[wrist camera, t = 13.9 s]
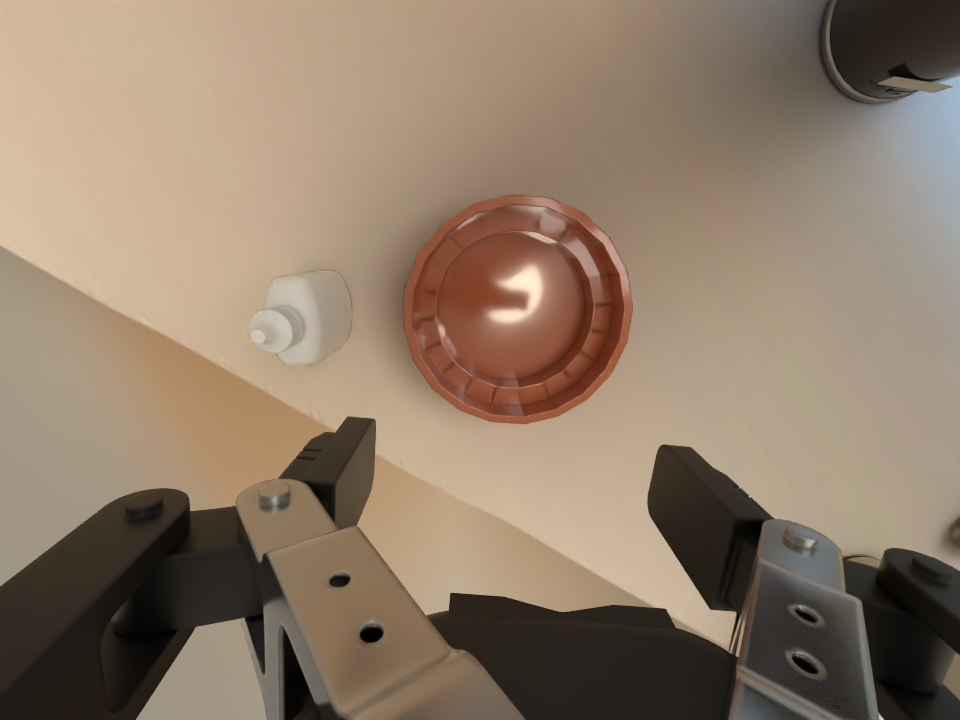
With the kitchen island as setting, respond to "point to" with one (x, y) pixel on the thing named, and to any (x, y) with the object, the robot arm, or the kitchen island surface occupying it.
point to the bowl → (517, 309)
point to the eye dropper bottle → (303, 317)
